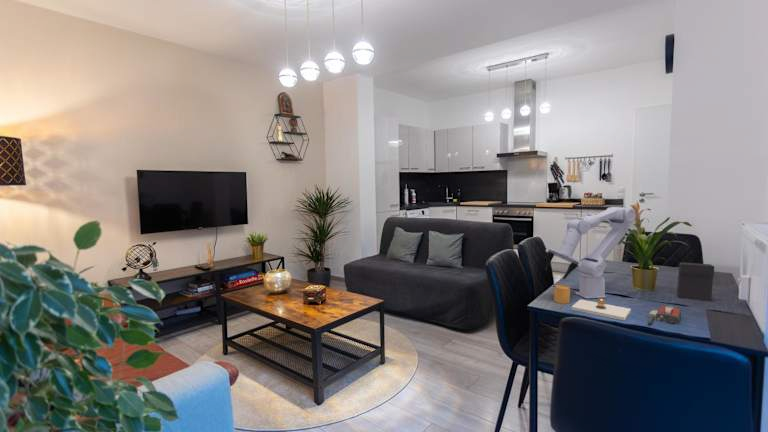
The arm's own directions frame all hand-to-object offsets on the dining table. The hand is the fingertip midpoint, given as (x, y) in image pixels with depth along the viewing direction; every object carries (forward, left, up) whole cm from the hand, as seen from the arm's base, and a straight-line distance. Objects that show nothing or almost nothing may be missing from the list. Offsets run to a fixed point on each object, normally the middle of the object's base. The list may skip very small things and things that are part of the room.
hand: (555, 274), depth 159 cm
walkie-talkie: (-27, +26, -12) cm, 39 cm away
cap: (-3, +1, -11) cm, 12 cm away
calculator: (-60, +7, -12) cm, 61 cm away
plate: (-11, +14, -11) cm, 21 cm away
